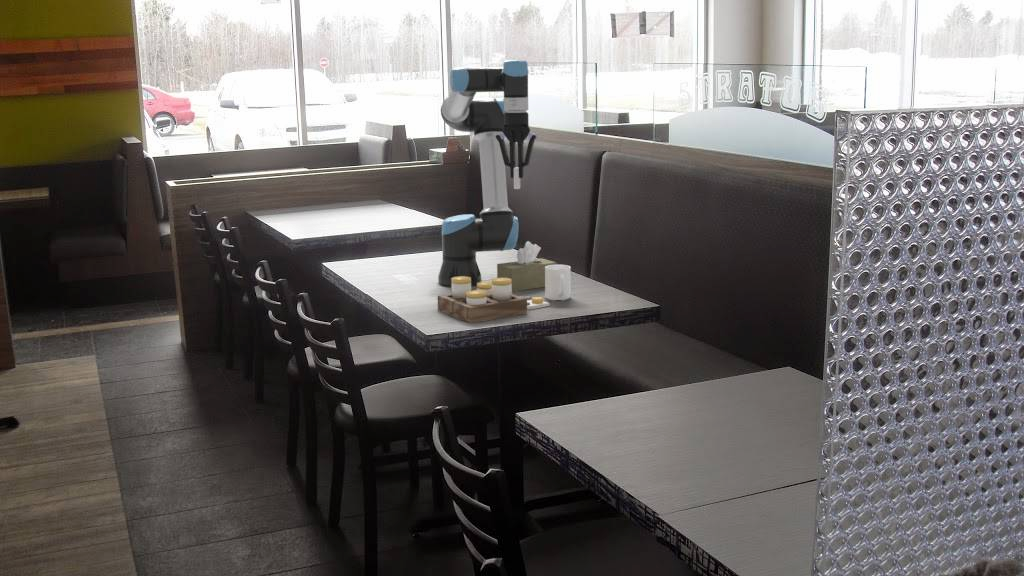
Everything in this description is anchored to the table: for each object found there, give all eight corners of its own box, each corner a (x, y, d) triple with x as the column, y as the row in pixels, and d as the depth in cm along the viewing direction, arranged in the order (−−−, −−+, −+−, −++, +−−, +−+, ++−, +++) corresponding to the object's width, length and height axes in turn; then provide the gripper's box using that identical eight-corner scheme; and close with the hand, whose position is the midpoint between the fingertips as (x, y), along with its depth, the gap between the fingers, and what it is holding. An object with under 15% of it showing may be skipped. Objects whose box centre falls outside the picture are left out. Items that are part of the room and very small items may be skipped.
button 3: (473, 301, 309) (473, 283, 307) (490, 299, 312) (489, 280, 311) (483, 305, 304) (483, 286, 302) (500, 302, 307) (499, 284, 306)
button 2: (463, 311, 297) (462, 291, 295) (480, 308, 300) (479, 289, 298) (473, 315, 292) (472, 295, 290) (490, 312, 295) (490, 292, 293)
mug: (576, 302, 312) (576, 270, 310) (550, 304, 311) (550, 272, 308) (567, 294, 324) (567, 263, 321) (542, 295, 322) (542, 265, 320)
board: (437, 310, 305) (437, 295, 304) (492, 301, 316) (492, 287, 315) (470, 323, 289) (469, 307, 288) (527, 313, 299) (526, 298, 298)
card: (502, 303, 313) (501, 296, 312) (528, 299, 318) (528, 292, 317) (522, 310, 303) (522, 303, 302) (549, 306, 308) (549, 299, 308)
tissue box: (510, 292, 329) (509, 245, 326) (496, 286, 338) (495, 241, 334) (557, 285, 339) (557, 240, 335) (542, 280, 347) (542, 236, 343)
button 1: (448, 296, 303) (447, 277, 302) (465, 294, 307) (464, 275, 305) (458, 300, 298) (457, 281, 297) (475, 297, 302) (474, 278, 300)
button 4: (488, 298, 301) (488, 279, 299) (505, 295, 304) (504, 276, 303) (498, 302, 296) (498, 282, 294) (515, 299, 299) (515, 280, 298)
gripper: (492, 112, 299) (494, 189, 304) (534, 112, 296) (535, 190, 301) (498, 111, 306) (499, 187, 311) (539, 111, 303) (540, 187, 308)
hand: (517, 188), depth 306 cm, fingers closed
